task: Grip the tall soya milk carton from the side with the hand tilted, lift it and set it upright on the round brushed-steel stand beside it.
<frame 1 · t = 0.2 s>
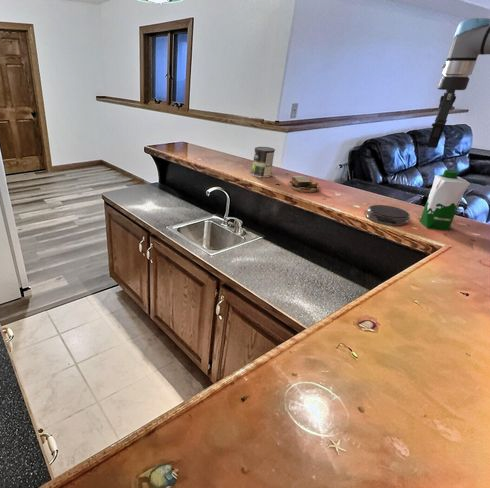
hand: (432, 144, 120), 29 cm above the counter, tool pointing down, fingers open, 13 cm apart
toy sandwich meal: (302, 189, 168), on the counter
soya milk: (433, 226, 129), on the counter
coffee can: (261, 175, 189), on the counter
stand: (386, 219, 134), on the counter
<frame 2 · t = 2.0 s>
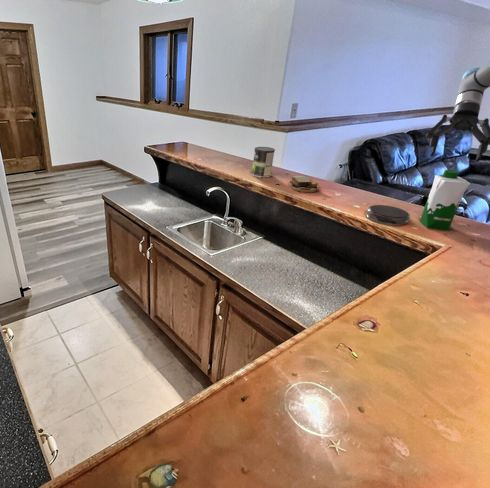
hand: (455, 156, 126), 24 cm above the counter, tool tilted 45°, fingers open, 13 cm apart
nothing on the counter moved.
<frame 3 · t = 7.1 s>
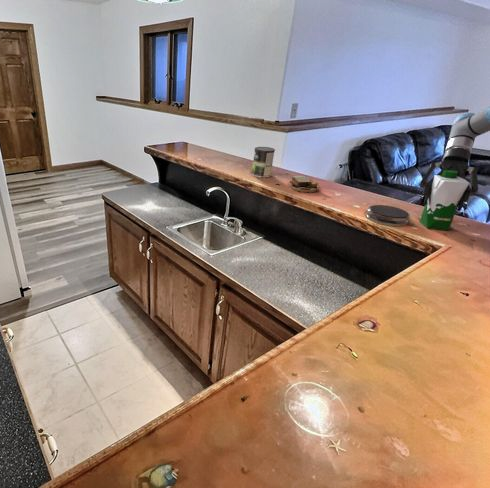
hand: (442, 206, 123), 9 cm above the counter, tool tilted 45°, fingers closed on soya milk, 9 cm apart
soya milk: (433, 226, 129), on the counter, touching gripper
everything else where it was.
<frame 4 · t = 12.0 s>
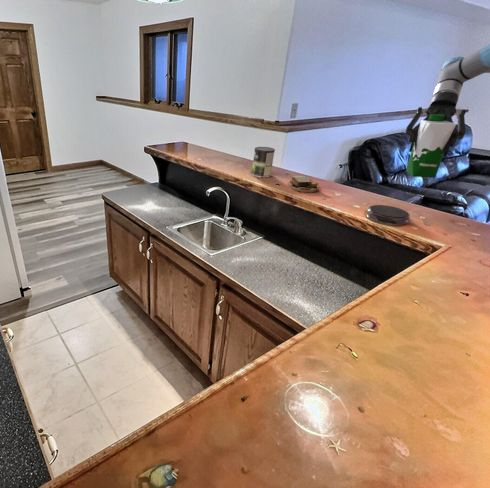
hand: (428, 151, 118), 27 cm above the counter, tool tilted 45°, fingers closed on soya milk, 9 cm apart
soya milk: (419, 175, 125), point 18 cm above the counter, touching gripper
everything else where it was.
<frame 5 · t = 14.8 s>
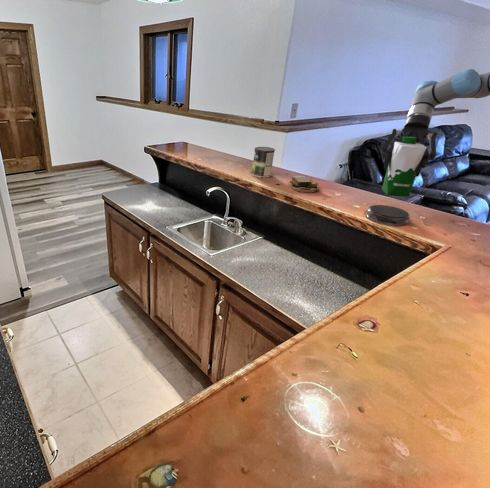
hand: (401, 172, 123), 19 cm above the counter, tool tilted 45°, fingers closed on soya milk, 9 cm apart
soya milk: (394, 193, 130), point 10 cm above the counter, touching gripper
everything else where it was.
when the fingers open (12 cm above the counter, at t = 17.2 s): soya milk stays where it is, resting on stand.
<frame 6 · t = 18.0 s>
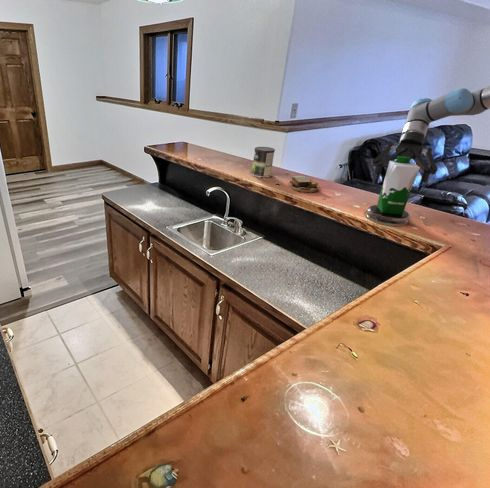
hand: (397, 185, 126), 14 cm above the counter, tool tilted 45°, fingers open, 13 cm apart
soya milk: (389, 211, 133), point 3 cm above the counter, touching stand
everything else where it was.
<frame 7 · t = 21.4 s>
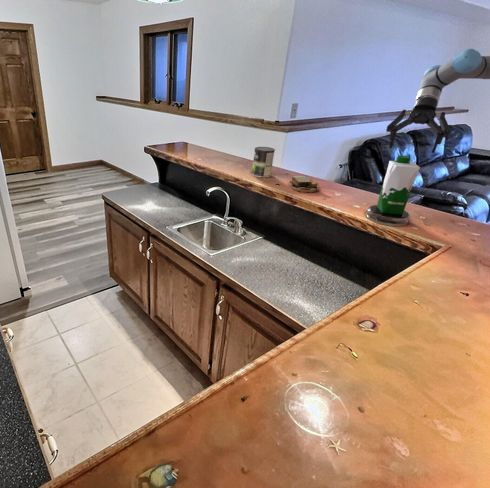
hand: (411, 148, 131), 25 cm above the counter, tool tilted 45°, fingers open, 13 cm apart
nothing on the counter moved.
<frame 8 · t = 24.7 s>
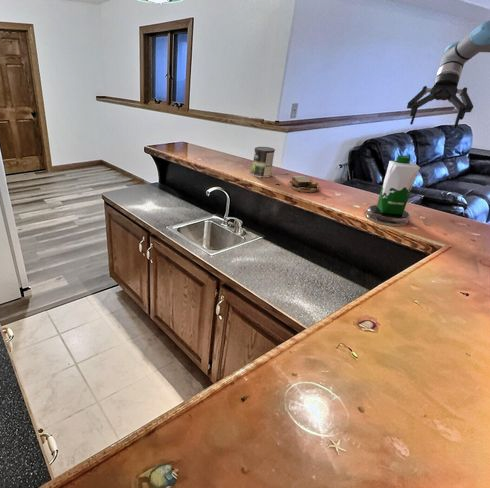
hand: (433, 123, 130), 34 cm above the counter, tool tilted 45°, fingers open, 13 cm apart
nothing on the counter moved.
at the end: soya milk inside the target area on the stand (0.4 cm from its centre), point 3.3 cm above the stand's base; soya milk tilted 0°; the gripper is holding nothing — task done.
